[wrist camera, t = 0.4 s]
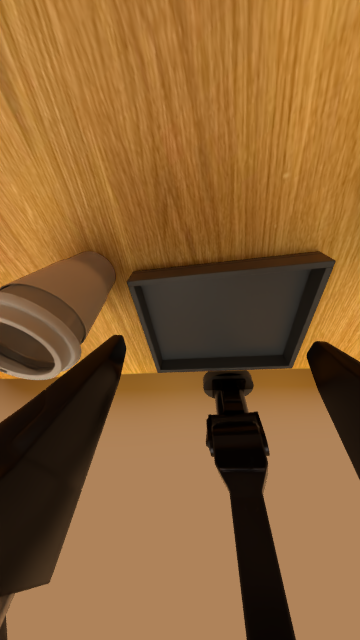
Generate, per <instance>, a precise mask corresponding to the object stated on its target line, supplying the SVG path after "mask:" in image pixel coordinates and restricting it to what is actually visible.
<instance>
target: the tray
mask: <svg viewBox="0 0 360 640" xmlns="http://www.w3.org/2000/svg"><path fill="white" fill-rule="evenodd" d="M335 262H336V261H335V260H334V259H332V258H330V257H328V256H327V255H325V254H323V253H321V252H310V253H301V254H291V255H282V256H273V257H264V258H254V259H245V260H236V261H226V262H217V263H208V264H199V265H189V266H180V267H171V268H162V269H152V270H143V271H134V272H133V273H132V275H131V276H130V278H129V279H128V281H127V284H128V287H129V290H130V293H131V296H132V299H133V302H134V305H135V307H136V310H137V313H138V316H139V319H140V322H141V325H142V328H143V331H144V334H145V337H146V340H147V343H148V345H149V348H150V351H151V354H152V357H153V360H154V363H155V366H156V369H157V372H158V373H166V372H196V371H226V370H255V369H285V368H292V367H293V365H294V362H295V360H296V357H297V355H298V353H299V350H300V348H301V345H302V343H303V340H304V338H305V335H306V333H307V331H308V328H309V326H310V323H311V321H312V318H313V316H314V313H315V311H316V308H317V306H318V304H319V301H320V299H321V296H322V294H323V291H324V289H325V286H326V284H327V282H328V279H329V277H330V274H331V272H332V269H333V266H334V264H335Z"/></svg>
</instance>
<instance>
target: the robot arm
mask: <svg viewBox="0 0 360 640" xmlns="http://www.w3.org/2000/svg"><path fill="white" fill-rule="evenodd" d="M125 354H126V345H125V341H124V338H123V336H122V335H113V336H112V337H110V338H109V339H108V340H107V341H105V342H104V343H103V344H102V345H100V346H99V347H98V348H97V349H95V350H94V351H93V352H92V353H90V354H89V355H88V356H86V357H85V358H84V359H83V360H81V361H80V362H79V363H78V364H76V365H75V366H74V367H73V368H71V369H70V370H69V371H68V372H66V373H65V374H64V375H62V376H61V377H60V378H59V379H57V380H56V381H55V382H54V383H52V384H51V385H50V386H49V387H47V388H46V390H43V391H42V392H41V393H40V394H38V395H37V396H36V397H35V398H34V399H32V400H31V401H30V402H28V403H27V404H25V405H24V406H23V407H22V408H20V409H19V410H17V411H16V412H15V413H13V414H12V415H11V416H9V417H8V418H6V419H5V420H4V421H2V422H1V423H0V640H7V628H6V613H7V611H8V608H9V606H10V603H11V601H12V599H13V597H14V594H15V593H17V592H21V591H24V590H28V589H31V588H34V587H38V586H41V585H44V584H48V583H49V582H50V579H51V577H52V575H53V572H54V569H55V566H56V563H57V560H58V557H59V554H60V551H61V549H62V545H63V543H64V540H65V537H66V534H67V531H68V528H69V526H70V523H71V520H72V517H73V514H74V511H75V508H76V505H77V502H78V499H79V496H80V493H81V491H82V490H81V489H82V487H83V485H84V482H85V479H86V476H87V473H88V470H89V467H90V464H91V461H92V459H93V455H94V453H95V450H96V447H97V444H98V441H99V438H100V435H101V433H102V429H103V427H104V424H105V421H106V418H107V415H108V412H109V409H110V407H111V403H112V400H113V398H114V395H115V392H116V389H117V386H118V383H119V380H120V376H121V372H122V367H123V363H124V358H125ZM307 360H308V363H309V366H310V368H311V371H312V374H313V377H314V380H315V383H316V386H317V388H318V391H319V393H320V395H321V397H322V400H323V402H324V404H325V406H326V408H327V410H328V413H329V415H330V417H331V419H332V421H333V423H334V425H335V428H336V430H337V432H338V434H339V436H340V438H341V440H342V443H343V445H344V447H345V449H346V451H347V453H348V456H349V457H350V460H351V462H352V464H353V466H354V468H355V471H356V473H357V475H358V477H359V479H360V362H359V361H358V360H356V359H354V358H352V357H351V356H349V355H347V354H346V353H344V352H342V351H341V350H339V349H337V348H336V347H334V346H332V345H331V344H329V343H327V342H323V341H316V342H314V343H313V345H312V346H311V348H310V349H309V351H308V353H307ZM245 384H246V380H245V379H244V378H241V379H213V380H212V396H213V398H215V401H216V410H217V415H208V419H207V435H206V446H207V447H208V448H209V450H210V452H211V456H212V457H214V459H215V465H216V467H217V469H218V472H219V474H220V476H221V478H222V480H223V482H224V484H225V485H226V487H227V489H228V491H229V493H230V499H231V508H232V516H233V525H234V534H235V542H236V551H237V560H238V567H239V577H240V584H241V594H242V602H243V611H244V619H245V628H246V637H247V640H296V639H295V634H294V630H293V626H292V622H291V617H290V612H289V608H288V604H287V599H286V595H285V590H284V586H283V582H282V577H281V573H280V568H279V564H278V560H277V555H276V551H275V546H274V542H273V538H272V533H271V529H270V524H269V520H268V516H267V511H266V507H265V502H264V498H263V493H264V489H265V484H266V479H267V475H268V461H267V457H266V456H269V448H268V444H267V440H266V436H265V433H264V430H263V427H262V424H261V421H260V418H259V415H258V412H250V413H249V412H248V408H247V404H246V400H245V396H244V391H245Z"/></svg>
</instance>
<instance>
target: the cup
mask: <svg viewBox="0 0 360 640" xmlns="http://www.w3.org/2000/svg"><path fill="white" fill-rule="evenodd" d="M114 282H115V271H114V268H113V267H112V265H111V264H110V262H109V261H108V260H107V259H106V258H105V257H103V256H102V255H100V254H98V253H95V252H91V251H86V252H82V253H80V254H77V255H75V256H73V257H71V258H69V259H67V260H61V261H58V262H56V263H53V264H51V265H49V266H47V267H44V268H42V269H40V270H38V271H35V272H33V273H31V274H29V275H26V276H24V277H22V278H20V279H18V280H15V281H13V282H11V283H9V284H6V285H4V286H2V287H1V288H0V371H1V372H3V373H6V374H9V375H12V376H16V377H20V378H25V379H32V380H45V379H50V378H53V377H55V376H57V375H58V374H59V373H60V372H62V371H65V370H67V369H69V368H71V367H72V366H73V365H75V364H76V363H77V362H78V361H79V359H80V356H81V346H80V345H81V344H82V343H83V342H84V340H85V338H86V336H87V335H88V333H89V331H90V329H91V327H92V325H93V324H94V322H95V320H96V318H97V316H98V314H99V313H100V311H101V309H102V307H103V305H104V303H105V301H106V299H107V295H108V293H109V291H110V290H111V288H112V286H113V284H114Z"/></svg>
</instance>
